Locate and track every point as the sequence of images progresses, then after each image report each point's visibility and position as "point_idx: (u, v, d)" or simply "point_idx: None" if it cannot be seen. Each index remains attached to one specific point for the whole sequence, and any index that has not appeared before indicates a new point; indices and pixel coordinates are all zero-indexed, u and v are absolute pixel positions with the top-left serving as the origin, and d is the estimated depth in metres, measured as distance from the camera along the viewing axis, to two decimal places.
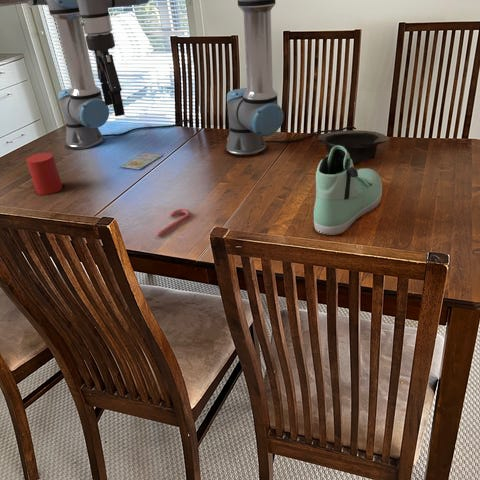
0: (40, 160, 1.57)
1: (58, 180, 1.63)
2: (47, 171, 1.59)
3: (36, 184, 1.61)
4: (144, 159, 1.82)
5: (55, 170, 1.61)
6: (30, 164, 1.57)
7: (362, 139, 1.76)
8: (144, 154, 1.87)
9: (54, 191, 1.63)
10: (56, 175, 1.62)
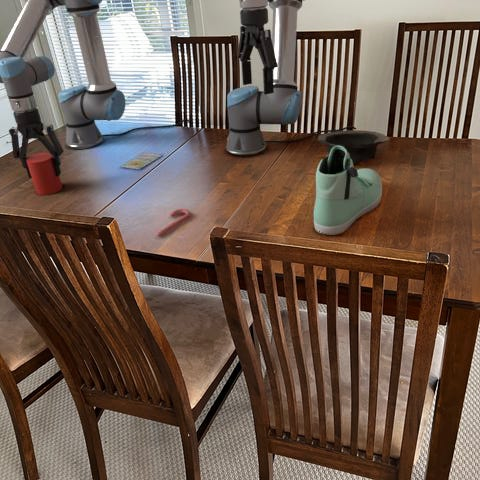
0: (40, 160, 1.57)
1: (58, 180, 1.63)
2: (47, 171, 1.59)
3: (36, 184, 1.61)
4: (144, 159, 1.82)
5: None
6: (30, 164, 1.57)
7: (362, 139, 1.76)
8: (144, 154, 1.87)
9: (54, 191, 1.63)
10: None
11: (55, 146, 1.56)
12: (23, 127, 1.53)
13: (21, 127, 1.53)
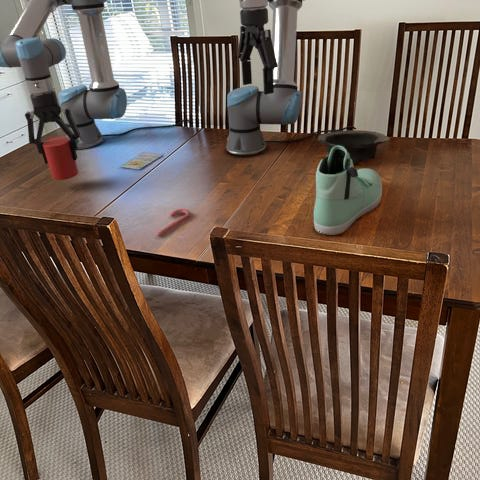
0: (58, 144, 1.55)
1: (75, 164, 1.61)
2: (65, 155, 1.57)
3: (53, 169, 1.58)
4: (144, 159, 1.82)
5: None
6: (48, 148, 1.54)
7: (362, 139, 1.76)
8: (144, 154, 1.87)
9: (72, 175, 1.61)
10: (73, 159, 1.60)
11: (73, 129, 1.55)
12: (40, 110, 1.50)
13: (38, 110, 1.50)
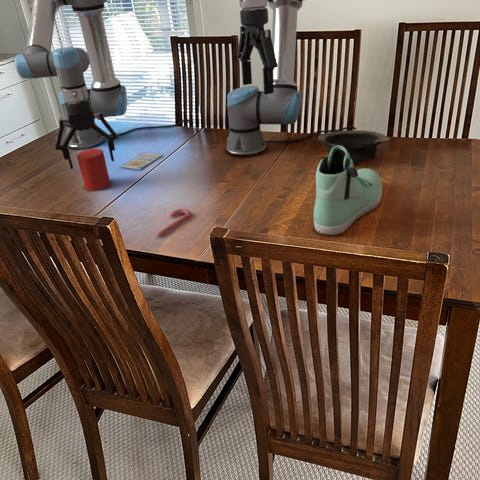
0: (94, 155, 1.58)
1: None
2: (101, 166, 1.60)
3: (89, 180, 1.60)
4: (144, 159, 1.82)
5: (105, 164, 1.63)
6: (85, 160, 1.56)
7: (362, 139, 1.76)
8: (144, 154, 1.87)
9: (107, 185, 1.64)
10: None
11: (111, 131, 1.58)
12: (75, 119, 1.52)
13: (73, 119, 1.52)
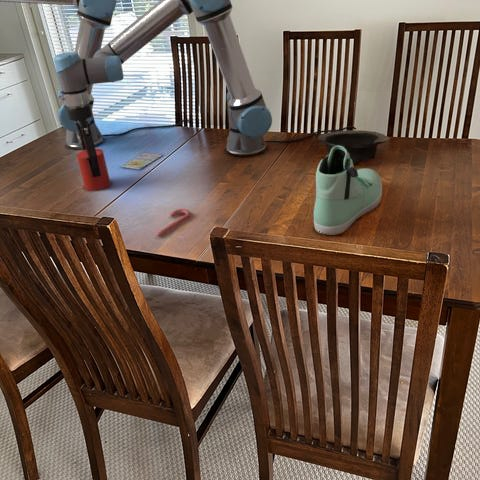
0: None
1: None
2: (101, 166, 1.60)
3: (89, 180, 1.60)
4: (144, 159, 1.82)
5: (105, 164, 1.63)
6: (85, 160, 1.56)
7: (362, 139, 1.76)
8: (144, 154, 1.87)
9: (107, 185, 1.64)
10: None
11: None
12: None
13: None
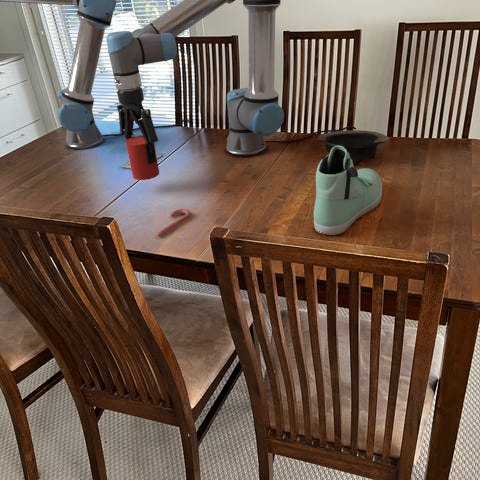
0: None
1: None
2: None
3: (144, 168, 1.51)
4: None
5: None
6: (141, 147, 1.47)
7: (362, 139, 1.76)
8: None
9: (158, 172, 1.56)
10: None
11: None
12: None
13: None
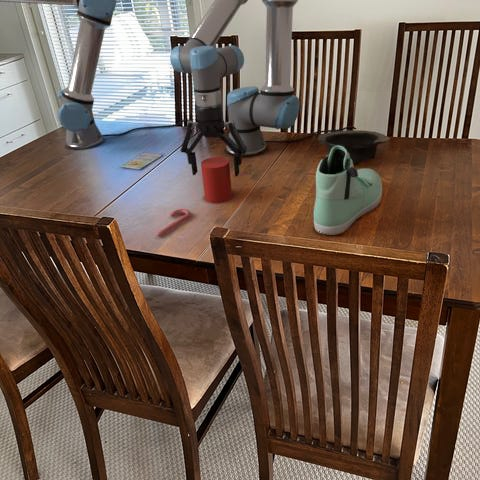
0: (225, 161, 1.46)
1: None
2: None
3: (226, 190, 1.47)
4: (144, 159, 1.82)
5: None
6: (224, 167, 1.43)
7: (362, 139, 1.76)
8: (144, 154, 1.87)
9: None
10: None
11: None
12: None
13: None
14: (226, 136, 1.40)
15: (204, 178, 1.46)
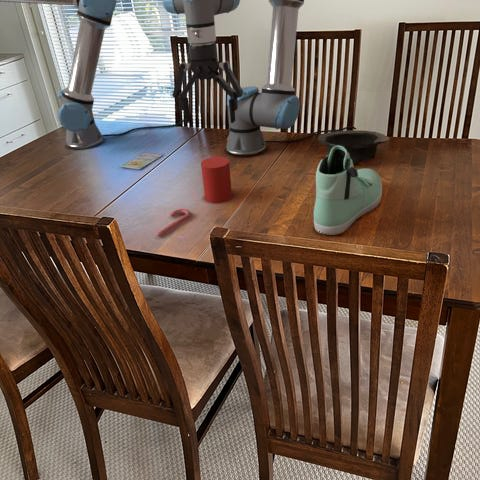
0: (225, 161, 1.46)
1: None
2: None
3: (226, 190, 1.47)
4: (144, 159, 1.82)
5: None
6: (224, 167, 1.43)
7: (362, 139, 1.76)
8: (144, 154, 1.87)
9: None
10: None
11: None
12: None
13: None
14: (221, 78, 1.31)
15: (204, 178, 1.46)
